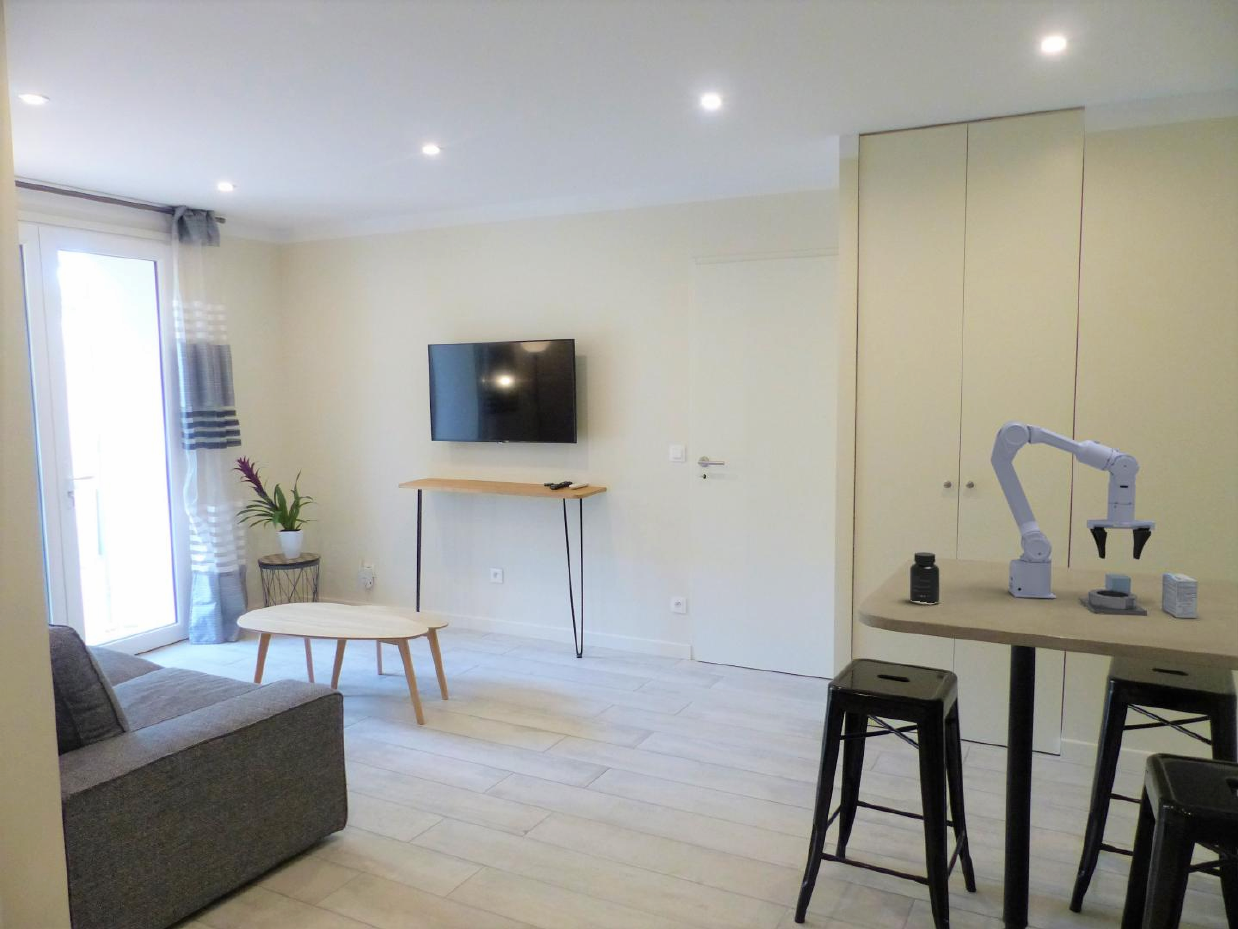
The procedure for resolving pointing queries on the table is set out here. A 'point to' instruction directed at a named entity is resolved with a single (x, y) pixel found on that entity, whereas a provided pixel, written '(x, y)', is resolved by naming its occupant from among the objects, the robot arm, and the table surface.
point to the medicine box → (1179, 595)
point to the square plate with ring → (1112, 602)
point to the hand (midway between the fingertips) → (1119, 558)
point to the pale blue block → (1118, 582)
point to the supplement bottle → (924, 578)
